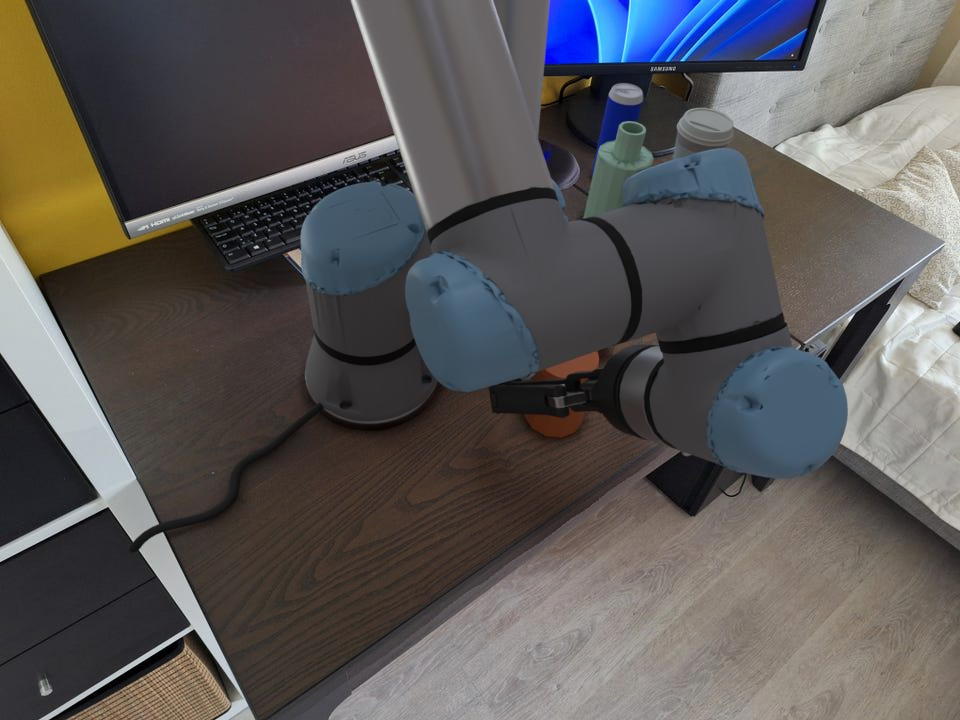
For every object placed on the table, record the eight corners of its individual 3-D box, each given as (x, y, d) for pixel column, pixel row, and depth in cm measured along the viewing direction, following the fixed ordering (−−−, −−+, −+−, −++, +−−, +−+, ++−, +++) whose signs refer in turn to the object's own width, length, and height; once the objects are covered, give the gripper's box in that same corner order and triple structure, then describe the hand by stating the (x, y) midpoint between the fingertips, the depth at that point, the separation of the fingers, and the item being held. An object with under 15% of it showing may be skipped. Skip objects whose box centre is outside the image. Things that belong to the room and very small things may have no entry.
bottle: (600, 245, 98) (625, 147, 86) (573, 216, 103) (593, 119, 91) (642, 234, 101) (672, 137, 89) (614, 206, 105) (639, 110, 93)
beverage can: (621, 171, 112) (643, 84, 101) (622, 188, 109) (645, 100, 98) (590, 167, 112) (609, 80, 101) (591, 185, 109) (610, 96, 98)
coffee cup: (649, 179, 111) (669, 111, 102) (688, 168, 114) (711, 101, 105) (682, 207, 106) (706, 138, 97) (722, 195, 109) (749, 127, 100)
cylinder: (542, 445, 74) (556, 387, 66) (514, 401, 77) (524, 342, 70) (592, 425, 76) (611, 367, 68) (563, 384, 80) (577, 325, 72)
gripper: (514, 473, 49) (455, 432, 69) (803, 412, 55) (669, 390, 75) (499, 372, 48) (444, 360, 69) (793, 321, 54) (661, 324, 75)
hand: (561, 376), depth 72 cm, fingers open, 13 cm apart
